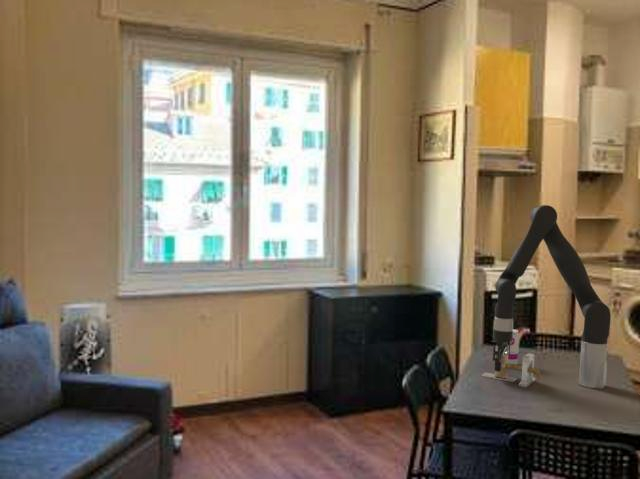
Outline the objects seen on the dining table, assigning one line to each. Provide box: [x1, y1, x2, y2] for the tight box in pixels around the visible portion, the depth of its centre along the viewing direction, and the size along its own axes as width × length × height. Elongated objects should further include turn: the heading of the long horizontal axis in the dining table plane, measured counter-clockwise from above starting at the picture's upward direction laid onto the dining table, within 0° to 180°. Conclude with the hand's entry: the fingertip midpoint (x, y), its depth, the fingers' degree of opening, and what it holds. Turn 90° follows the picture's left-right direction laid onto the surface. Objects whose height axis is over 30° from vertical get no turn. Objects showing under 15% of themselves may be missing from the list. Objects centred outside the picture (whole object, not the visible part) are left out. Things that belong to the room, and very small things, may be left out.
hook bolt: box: [493, 353, 541, 381], centre depth 252 cm, size 17×4×9 cm, turn 56°
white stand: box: [481, 352, 536, 388], centre depth 255 cm, size 19×12×11 cm, turn 56°
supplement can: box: [508, 328, 520, 365], centre depth 278 cm, size 8×8×15 cm
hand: (500, 369), depth 256 cm, fingers open, 7 cm apart
